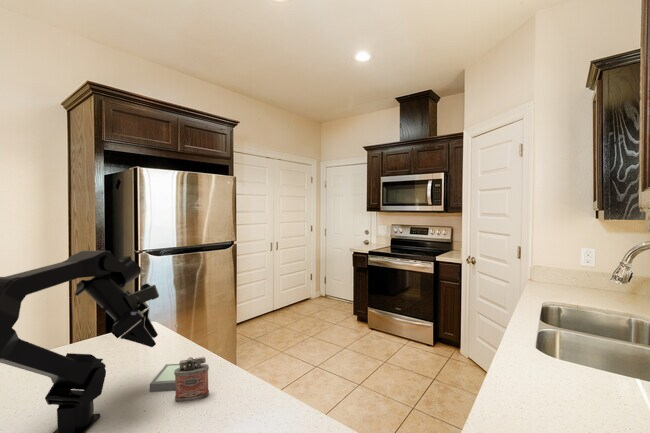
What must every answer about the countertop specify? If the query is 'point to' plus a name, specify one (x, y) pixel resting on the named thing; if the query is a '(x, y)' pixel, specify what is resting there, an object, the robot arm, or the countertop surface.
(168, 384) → the baseplate
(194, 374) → the lighter
